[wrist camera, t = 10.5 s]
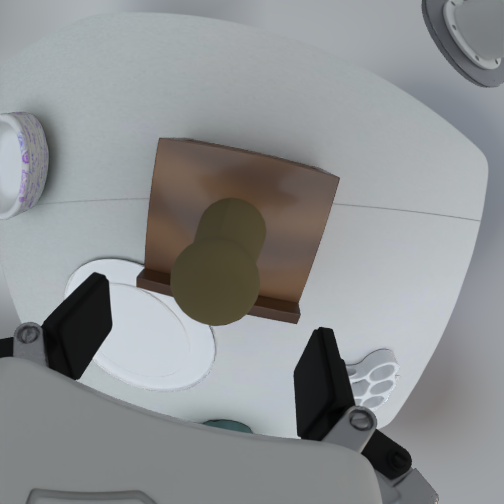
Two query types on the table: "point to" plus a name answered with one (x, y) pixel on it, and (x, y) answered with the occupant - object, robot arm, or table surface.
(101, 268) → the plate
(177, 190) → the brown wooden box
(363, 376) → the knuckle duster
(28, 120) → the paper bowls
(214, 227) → the olive pawn figure
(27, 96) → the table surface
